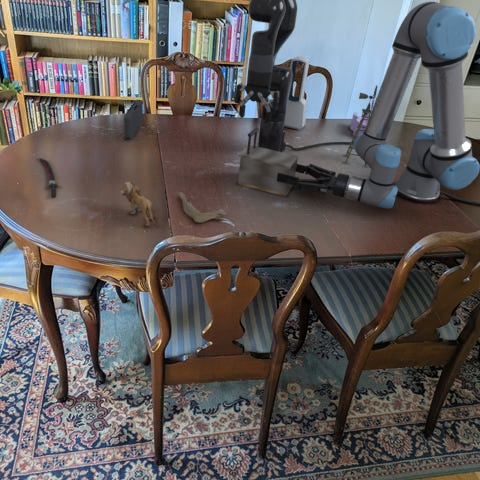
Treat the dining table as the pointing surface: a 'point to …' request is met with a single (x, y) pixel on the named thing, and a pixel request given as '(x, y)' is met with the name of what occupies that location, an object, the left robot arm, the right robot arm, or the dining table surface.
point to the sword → (52, 181)
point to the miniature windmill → (366, 112)
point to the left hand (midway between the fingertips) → (254, 119)
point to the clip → (356, 122)
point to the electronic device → (297, 98)
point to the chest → (264, 176)
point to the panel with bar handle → (266, 153)
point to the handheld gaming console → (133, 119)
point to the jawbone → (195, 213)
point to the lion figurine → (137, 201)
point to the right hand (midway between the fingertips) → (282, 171)
